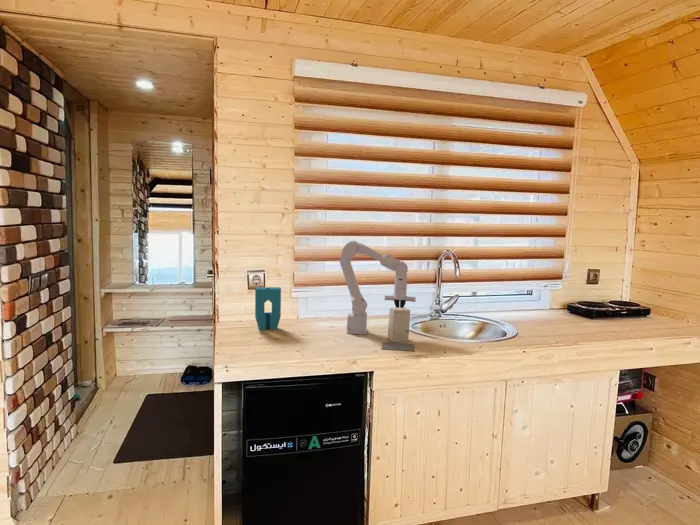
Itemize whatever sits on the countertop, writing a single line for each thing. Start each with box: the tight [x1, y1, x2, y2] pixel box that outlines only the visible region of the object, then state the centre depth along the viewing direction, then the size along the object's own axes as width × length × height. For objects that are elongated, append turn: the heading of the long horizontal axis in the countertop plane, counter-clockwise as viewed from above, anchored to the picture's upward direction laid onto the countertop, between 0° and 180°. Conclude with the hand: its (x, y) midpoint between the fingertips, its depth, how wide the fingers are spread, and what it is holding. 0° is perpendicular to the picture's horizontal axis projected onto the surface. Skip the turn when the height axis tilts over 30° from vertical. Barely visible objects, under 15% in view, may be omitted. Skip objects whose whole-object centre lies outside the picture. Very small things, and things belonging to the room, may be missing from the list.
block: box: [254, 286, 282, 331], centre depth 222 cm, size 12×5×20 cm, turn 100°
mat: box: [381, 341, 415, 352], centre depth 201 cm, size 14×10×1 cm
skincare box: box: [387, 307, 411, 343], centre depth 210 cm, size 8×6×15 cm
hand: (399, 315), depth 218 cm, fingers closed
